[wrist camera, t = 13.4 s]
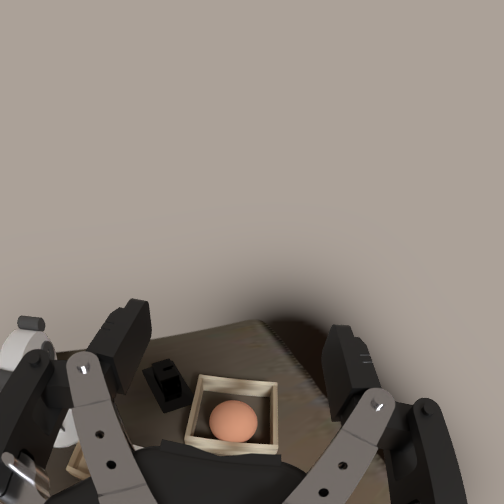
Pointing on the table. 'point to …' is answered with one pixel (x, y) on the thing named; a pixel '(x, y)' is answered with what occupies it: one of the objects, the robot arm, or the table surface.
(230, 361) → the table surface
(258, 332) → the table surface
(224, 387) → the corral
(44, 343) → the panda figurine
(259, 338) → the table surface
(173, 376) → the black slotted stand
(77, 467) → the tee
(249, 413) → the ball
